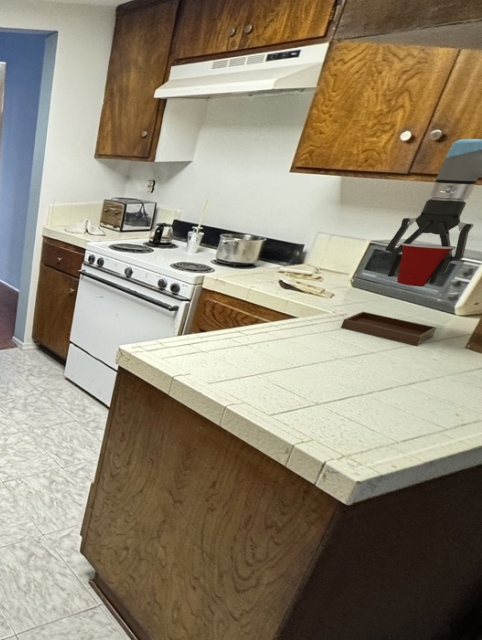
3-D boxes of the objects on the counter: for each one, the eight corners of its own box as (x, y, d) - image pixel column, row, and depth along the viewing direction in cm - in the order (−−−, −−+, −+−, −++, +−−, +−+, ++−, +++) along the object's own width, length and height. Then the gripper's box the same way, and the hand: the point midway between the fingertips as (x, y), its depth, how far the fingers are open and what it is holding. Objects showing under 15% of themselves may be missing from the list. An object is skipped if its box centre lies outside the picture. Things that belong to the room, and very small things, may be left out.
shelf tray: (432, 336, 141) (437, 327, 140) (416, 346, 134) (421, 337, 132) (359, 319, 155) (362, 311, 154) (340, 327, 147) (343, 319, 146)
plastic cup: (412, 280, 143) (431, 240, 139) (447, 289, 133) (468, 247, 129) (374, 278, 144) (391, 239, 140) (406, 288, 134) (425, 246, 130)
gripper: (391, 196, 136) (360, 273, 145) (502, 204, 120) (459, 289, 128) (400, 195, 140) (368, 270, 148) (508, 203, 123) (466, 286, 132)
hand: (410, 279), depth 138 cm, fingers closed on plastic cup, 8 cm apart
